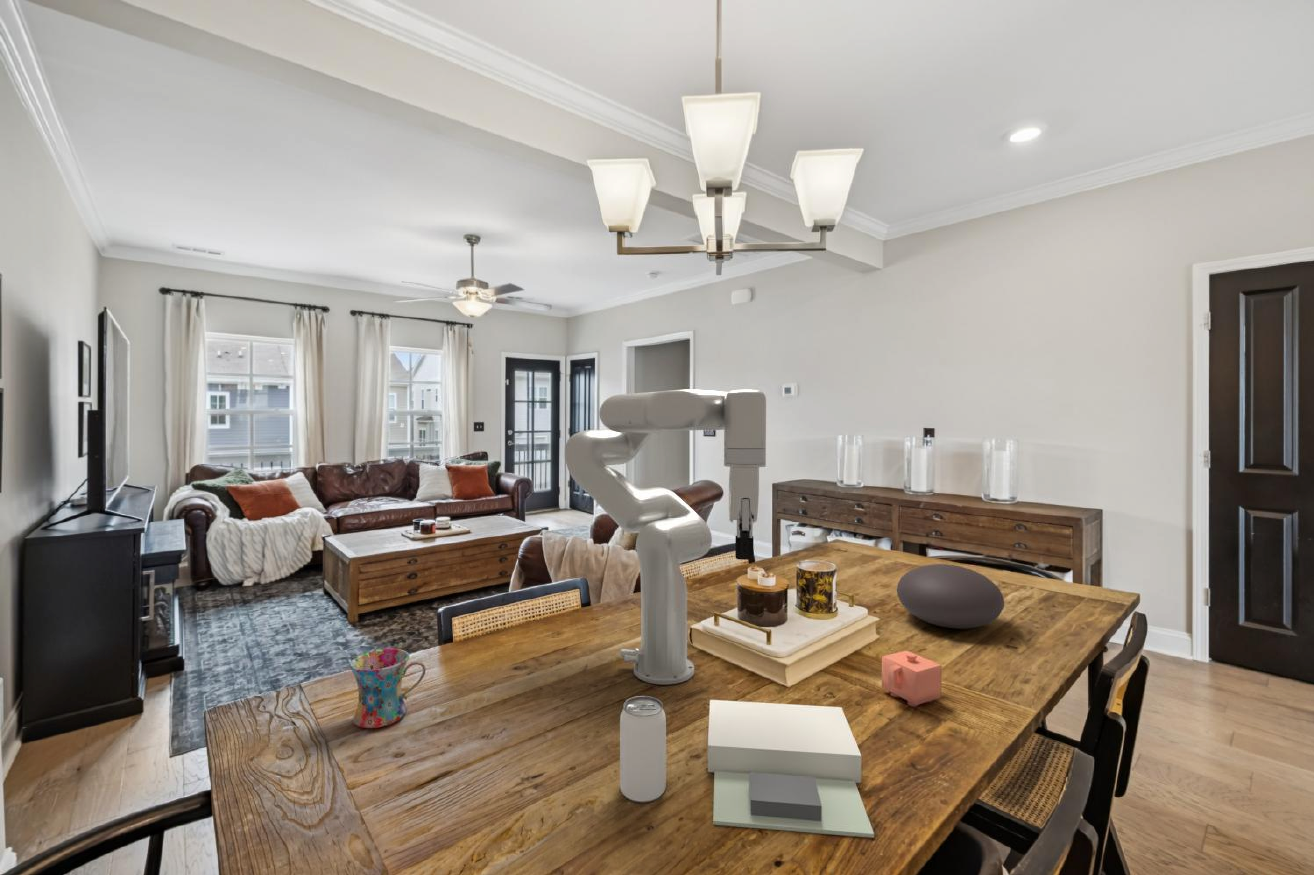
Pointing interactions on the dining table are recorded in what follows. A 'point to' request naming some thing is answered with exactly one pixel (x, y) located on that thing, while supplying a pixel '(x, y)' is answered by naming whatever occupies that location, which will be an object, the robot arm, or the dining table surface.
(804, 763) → the plate
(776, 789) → the tile
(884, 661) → the pink cube teapot
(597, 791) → the dining table surface
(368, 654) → the mug
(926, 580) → the flattened ellipsoid
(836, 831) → the mat
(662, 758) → the can
